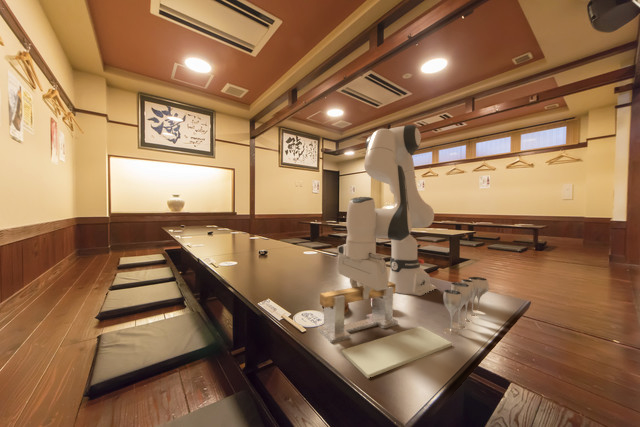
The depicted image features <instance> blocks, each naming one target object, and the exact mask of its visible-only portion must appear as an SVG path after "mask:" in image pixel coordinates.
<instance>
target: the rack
mask: <svg viewBox="0 0 640 427" xmlns="http://www.w3.org/2000/svg"><path fill="white" fill-rule="evenodd" d="M331 291H335V289H329V290H324V291H323V293H325V292H331ZM393 300H394V294H393V287H387V288H386V289H385V290H383V296H379V297H375V298H372V306H371V313H369V314H366V319H362V320H358V321H354V322H348V323H345V314H344V305H345V296H343V295H341V296H336V297H333V306H331V307H327V308H325V307H324V309H323V324H322V325H319V326H317V331H318V332H319V333H321V335H322V336H324V337H325V339H327V341H328V342H329V343H331V344H334V343H337V342H341V341H344V340H348V339H351V333H354V332H357V331H360V330H364V329H369V328H372V327H376V326H379V327H380V328H381V329H387V328H390V327H394V326H398V325H399V321H398V320H396V319H394V318H393V310H394V309H393V307H394V306H393V305H394V302H393Z"/></svg>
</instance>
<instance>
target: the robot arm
mask: <svg viewBox="0 0 640 427" xmlns="http://www.w3.org/2000/svg"><path fill="white" fill-rule="evenodd" d="M421 139H422V135H421V132H420V130H419V127H418V126H416V125H415V124H406V125H404V126H396V127H392V128H389V129H388V128H379V129H376V130H375V131H374V132H373V133H372V134H370V135H369V136H368V137H367V139H366V141H365V156H364V161H363V162H364V170H365V172H366V174H367V175H368V176H369V177H370V178H372V179H373V180H375V181H378V182H382V183H384V184H387V185H389V191H390V193H391V194H393V199H394V203H389V204H386V205H384V206H382V207H381V208H378V207H377V208H376V204H375V199H374V198H372V197H370V196H360V197H358V196H357V197H353V198H351V199H349V200H348V205H347V212H346V224H345V225H346V226H345V227H346V231H347V236H346V239H345V243H344V244H342V245H338V246H337V247H336V248H337V253H338V255H337V271H338V273H339V274H340V275H341V276H344V277H346V278H348V279H349V283H350V287H351V288H354V287H359V285H358V284H362V286H363V288H364V291H363V292H361V298H363V299H365V300H369V299H368V298H369V292H370V290H371V289H374V290H377V291H380V290H385V289H386V288H387V287H388V281H389V282H392V283H394V284H396V288H395V293H398V294H403V295H404V294H405V295H414V296H423V295H426V294H428V293H430V292H429V291H431V292H433V291H435V290H434V289H436V290H437V286H435V285H433V284H431V276H430V274H429V273H427V272H426V271H425V270H424V269H423V268H422V267H421V266H420V264H421V265H423V264H424V263H425V260H424V259H421V258H418V246H419V245H418V241H417V239H416V238H414V236H412V235H411V232H412V229H423V228H428V227H430V226H431V225H432V224H433V222H434V220H435V212H434V209H433V208H432V206H431V205H430V204H428V203H427V202H425V201H424V199H423V198H422V197H421V195H420V193H419V191H418V188H417V180H416V173H415V163H414V159H413V155H414V154H415V152H417V150H418V149H419V148H420V146H421V141H422V140H421ZM376 239H388V240H390V242H391V243H390V244H391V256H390V260H389V263H390V264H389V265H390V270H389V275H388V268H387V264H386V263H387V262H386V261H385V259H384V258H383V256H381V255H380V254H376V251H377V250H376V249H377V248H376V247H377V240H376ZM432 290H433V291H432ZM427 292H428V293H427ZM425 293H426V294H425Z"/></svg>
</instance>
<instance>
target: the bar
mask: <svg viewBox="0 0 640 427" xmlns="http://www.w3.org/2000/svg"><path fill="white" fill-rule="evenodd" d="M388 287H393V295H394V294H396V292H395V288H396V284H394V283H392V282H389V280H388ZM363 291H364V288H363V285H361V286H358V287H354V288H352V287H348V288H344V289H339V290H334V291H331V292H325V293H324V292H320V293H319V305H321V307H322V306H323V307H325V308H327V307H331V306H333V297H336V296H341V295H343V296H345V304H346V303H348V304H350V303H354V302H359V301H364V300H365V299H363V298H361V292H363ZM379 296H383V290H380V291H377V290H374V289H371V290H370V292H369V298H368V299H367V300H369V299H370V300H371V298H375V297H379Z"/></svg>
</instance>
